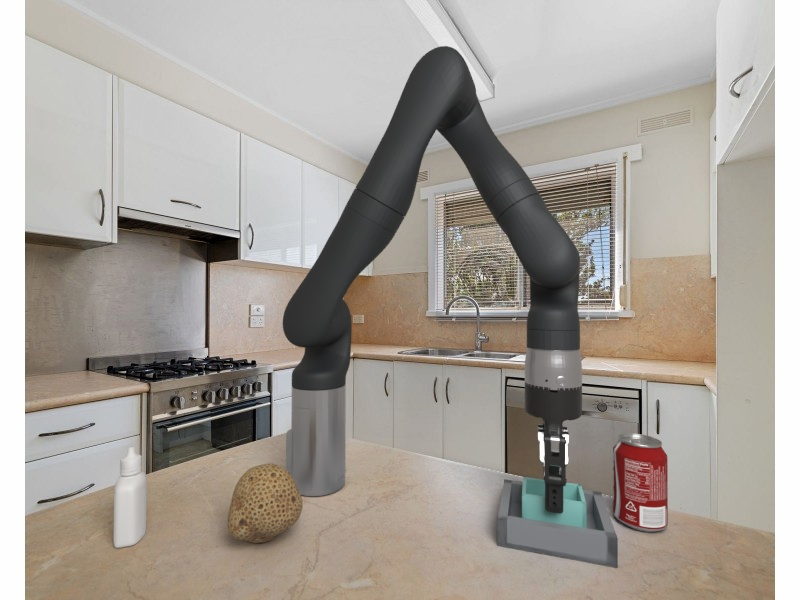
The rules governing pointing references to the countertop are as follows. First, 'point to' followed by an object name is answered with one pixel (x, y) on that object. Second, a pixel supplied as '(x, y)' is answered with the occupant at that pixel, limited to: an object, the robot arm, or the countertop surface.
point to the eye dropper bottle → (130, 501)
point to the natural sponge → (264, 504)
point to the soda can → (640, 482)
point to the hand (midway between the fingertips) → (552, 496)
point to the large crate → (558, 530)
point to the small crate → (536, 511)
